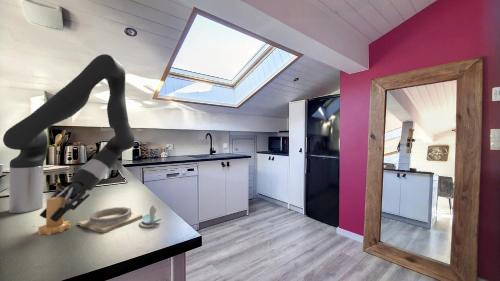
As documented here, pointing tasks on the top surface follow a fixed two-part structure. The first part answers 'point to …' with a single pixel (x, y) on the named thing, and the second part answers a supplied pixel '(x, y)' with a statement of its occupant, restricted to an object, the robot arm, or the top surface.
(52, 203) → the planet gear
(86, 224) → the carrier plate
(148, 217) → the pacifier
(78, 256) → the top surface
